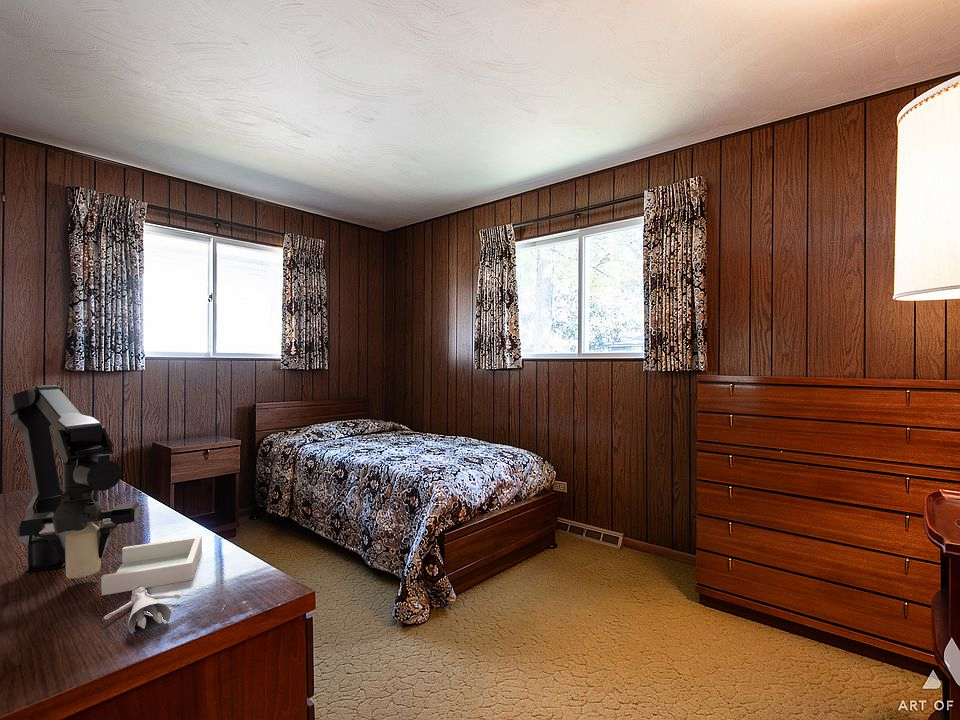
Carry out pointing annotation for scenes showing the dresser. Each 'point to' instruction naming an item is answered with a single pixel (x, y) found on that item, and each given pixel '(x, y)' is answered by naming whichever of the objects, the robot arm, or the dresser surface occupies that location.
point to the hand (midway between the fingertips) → (83, 560)
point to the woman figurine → (145, 607)
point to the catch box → (154, 565)
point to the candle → (82, 551)
